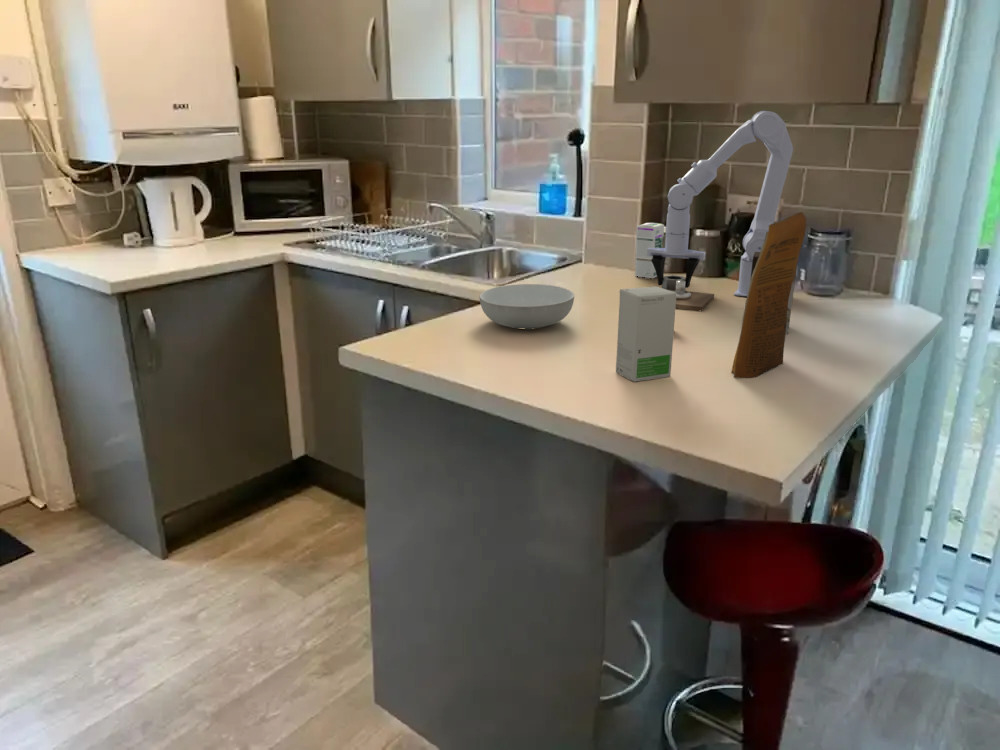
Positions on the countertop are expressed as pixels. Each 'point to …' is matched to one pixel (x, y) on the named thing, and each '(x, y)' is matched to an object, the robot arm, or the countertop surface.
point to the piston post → (681, 291)
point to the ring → (671, 281)
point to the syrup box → (647, 238)
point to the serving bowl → (526, 305)
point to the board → (695, 301)
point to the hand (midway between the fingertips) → (673, 285)
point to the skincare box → (645, 333)
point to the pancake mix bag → (769, 299)
